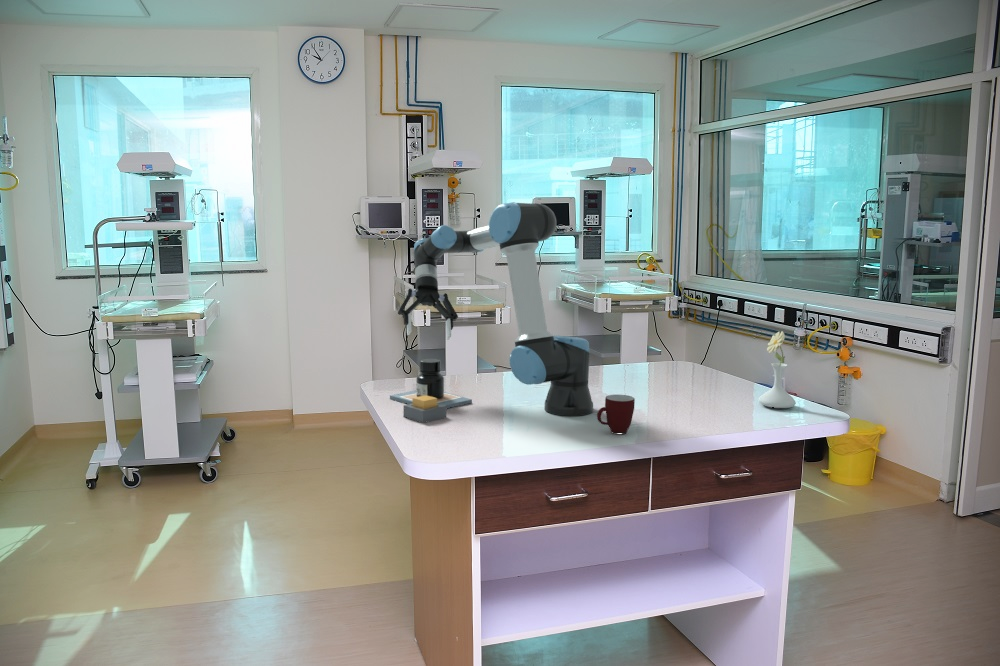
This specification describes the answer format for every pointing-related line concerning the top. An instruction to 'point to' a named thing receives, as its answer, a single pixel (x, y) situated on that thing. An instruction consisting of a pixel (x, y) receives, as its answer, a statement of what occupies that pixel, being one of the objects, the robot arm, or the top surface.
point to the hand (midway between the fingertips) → (429, 335)
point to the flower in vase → (777, 378)
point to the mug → (618, 412)
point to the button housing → (424, 412)
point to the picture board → (446, 400)
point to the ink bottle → (430, 379)
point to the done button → (424, 402)
